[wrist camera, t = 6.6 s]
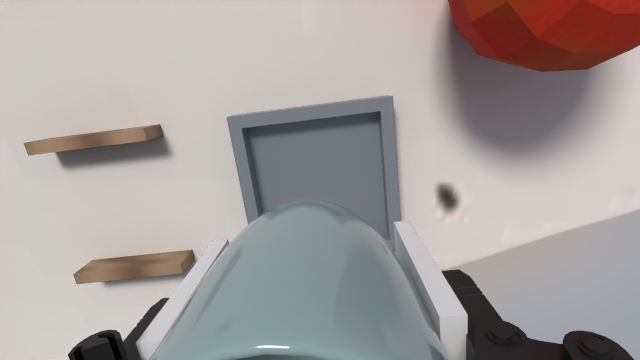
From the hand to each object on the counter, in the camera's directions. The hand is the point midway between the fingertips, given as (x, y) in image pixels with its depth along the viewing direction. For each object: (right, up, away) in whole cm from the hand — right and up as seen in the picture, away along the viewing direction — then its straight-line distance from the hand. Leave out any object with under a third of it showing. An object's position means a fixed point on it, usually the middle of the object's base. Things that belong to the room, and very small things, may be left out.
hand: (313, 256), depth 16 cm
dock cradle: (0, +4, +13) cm, 13 cm away
